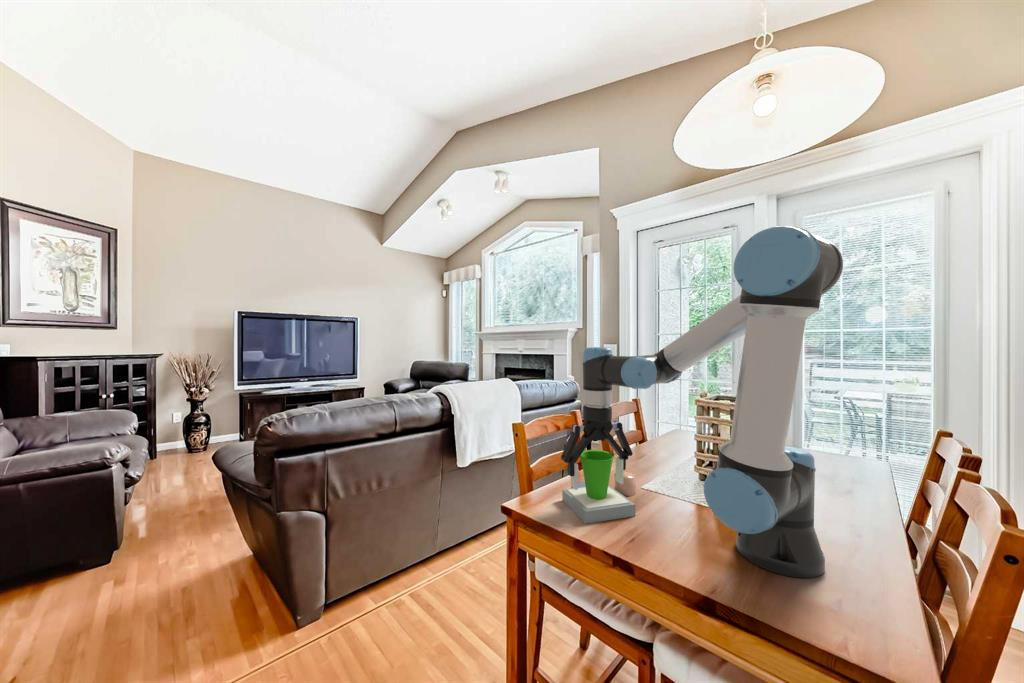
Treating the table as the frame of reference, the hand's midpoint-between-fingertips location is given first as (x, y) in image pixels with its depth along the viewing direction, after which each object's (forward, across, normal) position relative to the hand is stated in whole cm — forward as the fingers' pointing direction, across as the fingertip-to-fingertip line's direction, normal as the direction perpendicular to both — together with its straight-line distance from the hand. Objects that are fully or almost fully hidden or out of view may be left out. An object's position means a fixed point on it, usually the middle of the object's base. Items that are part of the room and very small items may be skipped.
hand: (597, 484), depth 103 cm
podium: (+6, 0, 0) cm, 6 cm away
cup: (+3, 0, 0) cm, 3 cm away
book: (+7, -3, -10) cm, 12 cm away
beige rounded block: (+6, -13, -7) cm, 16 cm away
